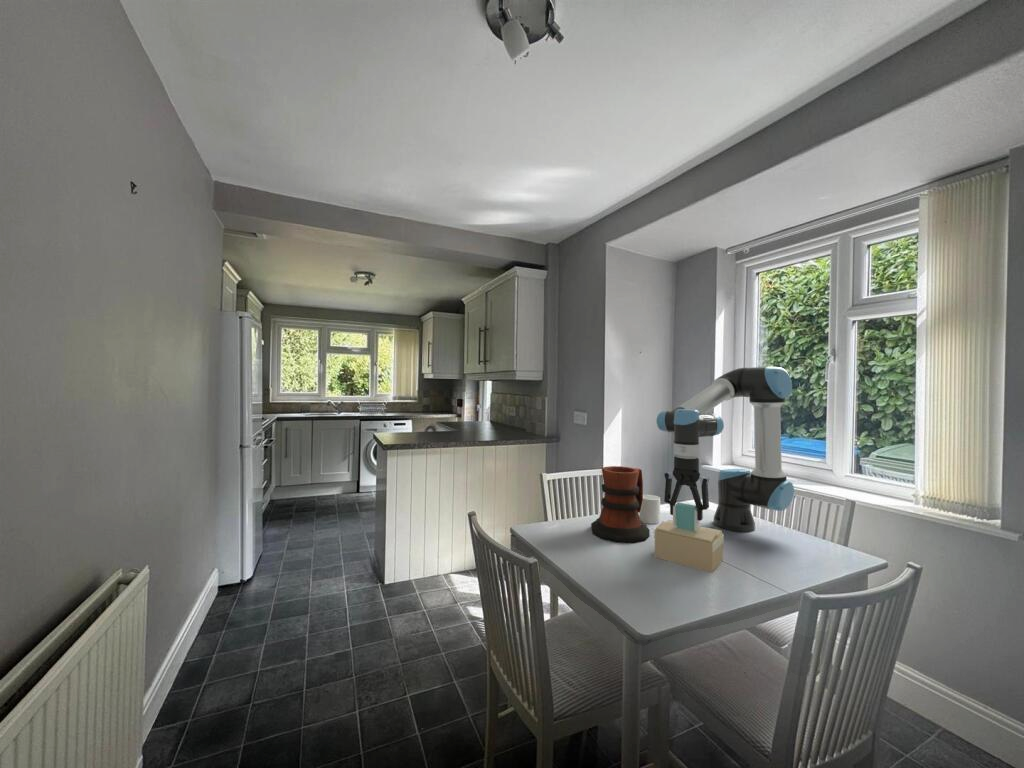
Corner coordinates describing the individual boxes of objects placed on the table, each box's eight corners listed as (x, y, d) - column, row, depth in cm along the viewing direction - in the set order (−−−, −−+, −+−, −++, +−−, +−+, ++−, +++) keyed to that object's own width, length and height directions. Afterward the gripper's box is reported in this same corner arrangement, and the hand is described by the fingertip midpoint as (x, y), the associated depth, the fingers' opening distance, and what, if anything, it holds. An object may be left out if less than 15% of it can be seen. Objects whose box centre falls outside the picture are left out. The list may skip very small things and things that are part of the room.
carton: (667, 546, 150) (667, 519, 150) (723, 560, 138) (723, 531, 138) (654, 556, 141) (654, 527, 141) (713, 573, 129) (713, 541, 129)
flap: (662, 523, 145) (661, 499, 144) (716, 534, 134) (715, 508, 133) (656, 529, 141) (654, 505, 140) (711, 542, 130) (710, 515, 129)
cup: (649, 525, 173) (649, 500, 173) (629, 517, 183) (629, 493, 184) (664, 522, 176) (664, 498, 176) (643, 514, 187) (643, 491, 187)
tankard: (579, 531, 165) (579, 468, 165) (617, 518, 181) (617, 461, 181) (627, 548, 148) (628, 478, 148) (664, 532, 165) (665, 469, 165)
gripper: (653, 454, 141) (652, 523, 141) (714, 461, 128) (714, 537, 129) (661, 451, 146) (661, 518, 147) (721, 458, 134) (720, 531, 134)
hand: (686, 527), depth 138 cm, fingers closed on flap, 6 cm apart
